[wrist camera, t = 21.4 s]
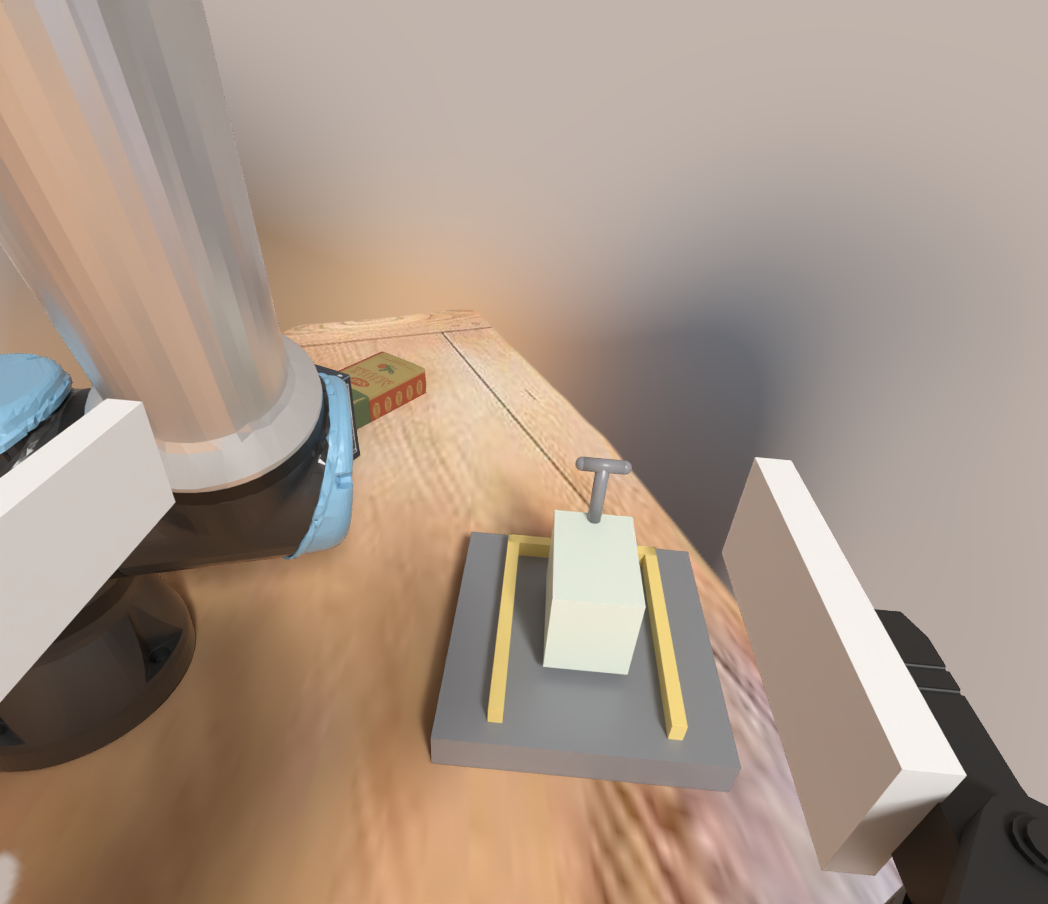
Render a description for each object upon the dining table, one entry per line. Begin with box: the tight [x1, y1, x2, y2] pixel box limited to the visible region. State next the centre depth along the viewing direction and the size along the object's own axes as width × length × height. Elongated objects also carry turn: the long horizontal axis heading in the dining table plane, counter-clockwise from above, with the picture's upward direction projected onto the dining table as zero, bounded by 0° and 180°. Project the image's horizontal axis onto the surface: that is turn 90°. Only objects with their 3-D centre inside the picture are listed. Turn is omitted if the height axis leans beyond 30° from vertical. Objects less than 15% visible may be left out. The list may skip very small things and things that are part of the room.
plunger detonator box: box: [543, 457, 646, 675], centre depth 43 cm, size 6×9×14 cm, turn 177°
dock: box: [431, 532, 741, 792], centre depth 47 cm, size 20×20×4 cm
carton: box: [339, 352, 426, 429], centre depth 78 cm, size 8×16×4 cm, turn 146°
